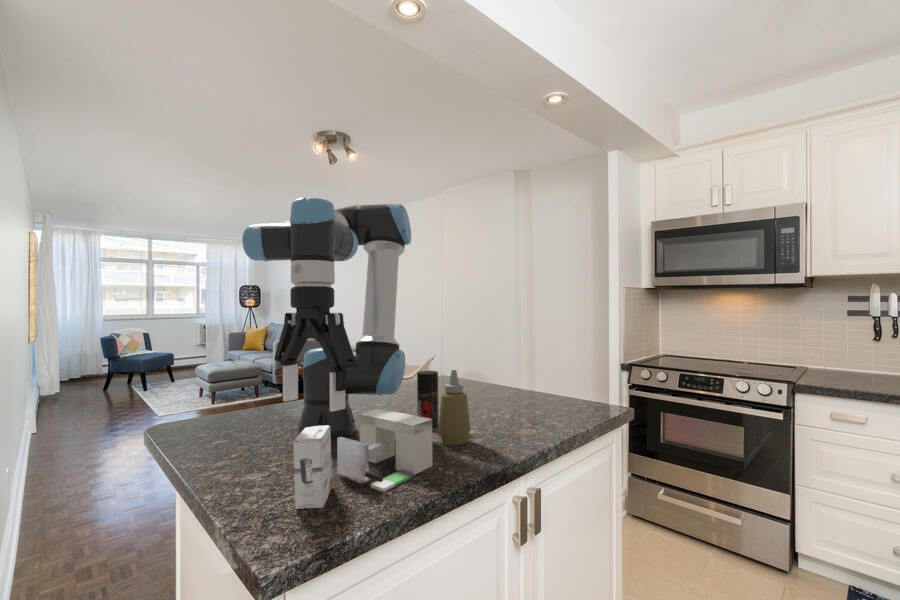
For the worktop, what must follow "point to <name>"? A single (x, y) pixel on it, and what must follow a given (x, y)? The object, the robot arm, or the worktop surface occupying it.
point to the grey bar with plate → (358, 458)
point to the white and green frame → (398, 443)
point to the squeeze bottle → (454, 413)
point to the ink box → (312, 467)
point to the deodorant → (427, 395)
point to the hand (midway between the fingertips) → (312, 404)
